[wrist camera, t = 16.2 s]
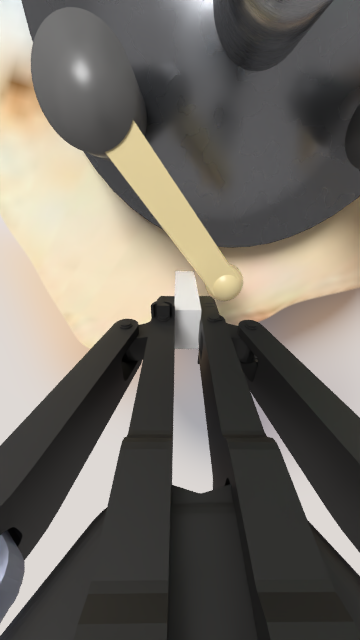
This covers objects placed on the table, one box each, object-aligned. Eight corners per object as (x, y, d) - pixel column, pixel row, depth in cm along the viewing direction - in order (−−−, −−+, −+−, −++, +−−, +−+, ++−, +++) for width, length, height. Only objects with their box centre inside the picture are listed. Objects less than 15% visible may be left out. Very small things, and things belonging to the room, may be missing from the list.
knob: (56, 107, 14) (5, 72, 10) (107, 36, 13) (72, -40, 8) (204, 295, 21) (210, 320, 17) (248, 265, 20) (266, 285, 16)
